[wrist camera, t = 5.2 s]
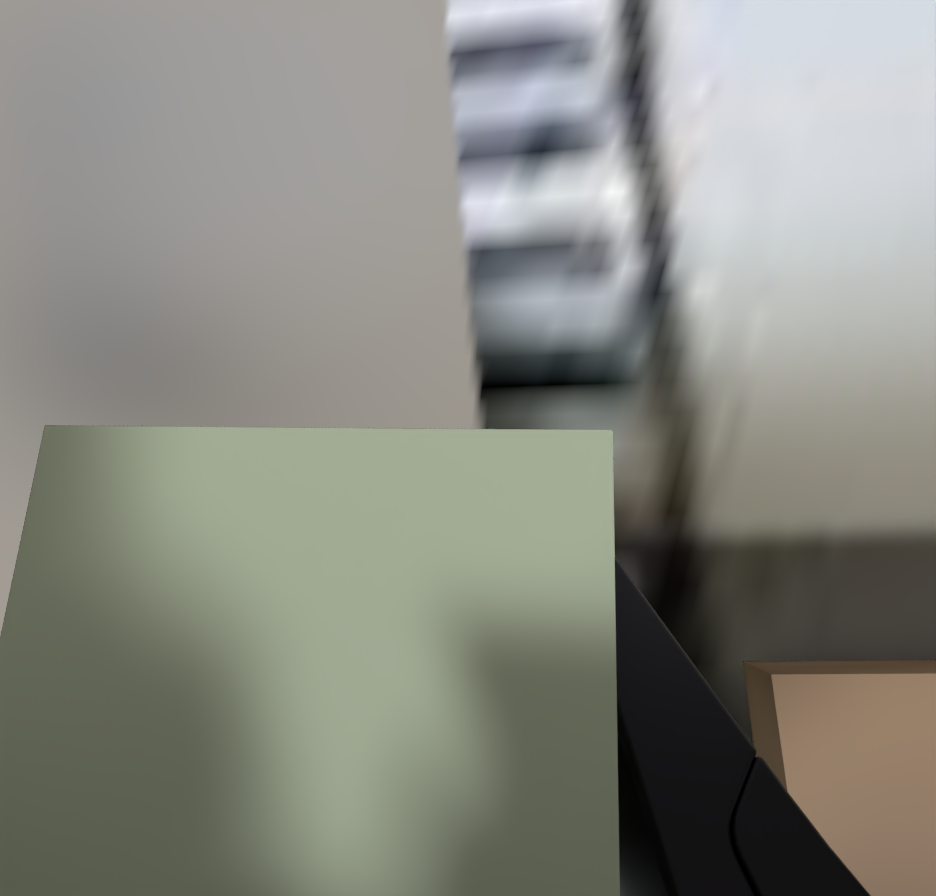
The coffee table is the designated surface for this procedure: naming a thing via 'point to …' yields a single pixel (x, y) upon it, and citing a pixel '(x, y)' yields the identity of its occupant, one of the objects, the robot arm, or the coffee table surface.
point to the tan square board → (856, 760)
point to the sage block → (312, 665)
